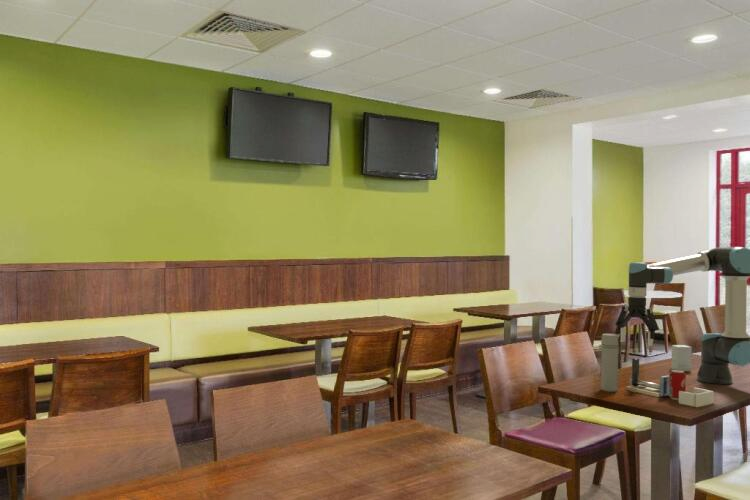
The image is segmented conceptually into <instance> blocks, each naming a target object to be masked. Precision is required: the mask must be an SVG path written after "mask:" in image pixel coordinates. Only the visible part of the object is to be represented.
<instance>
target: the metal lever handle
mask: <svg viewBox="0 0 750 500" xmlns="http://www.w3.org/2000/svg"><path fill="white" fill-rule="evenodd" d="M628 383H629V384H631V386H639V385H640V386H645V387H649V388H654V389H659V390H660V396H662V397H665V396H666V395H667V396H669V374H668V375H662V376H660V377H659V384H658V383H654V382H649V381H645V380H640V358H637V357H632V358H631V378H629V380H628Z"/></svg>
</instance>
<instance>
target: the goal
mask: <svg viewBox="0 0 750 500" xmlns="http://www.w3.org/2000/svg"><path fill="white" fill-rule="evenodd" d="M714 395H715V394H714V391H713V390H709V389H704V388H698V387H693V392H688V391H686V392H684V391H679V400H678V404H682V405H685V406H689V407H695V408H700V407H704V406H708V405H712V404H714V403H715V402H714Z"/></svg>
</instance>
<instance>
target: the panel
mask: <svg viewBox="0 0 750 500" xmlns="http://www.w3.org/2000/svg"><path fill="white" fill-rule="evenodd" d="M625 391H629V392H633V393H637V392H638V393H639V394H641V395H642V394H643V395H647V396H651V397H656V398H662V397H663V396H660V390H659V389H654V388H649V387H645V386H640V385H639V386H632V385H628V386H625ZM666 396H668V395H666Z"/></svg>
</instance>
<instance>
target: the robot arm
mask: <svg viewBox="0 0 750 500" xmlns="http://www.w3.org/2000/svg"><path fill="white" fill-rule="evenodd" d="M698 271H701V272H710V271H713V272H714V271H716V272H717V271H718V272H721V277H722V278H723V279H724V281H725V282H724V283H725V284H724V285H725V287H724V288H725V290H724V291H725V294H724V295H725V297H724V300H725V301H724V331H723V332H721V333H711V332H710V333H709V332H708V333H703V334H702V336H701V341H700V342H701V362H700V367H699V368H698V372H697V375H696V380H697V381H699V382H703V383H707V384H715V385H730V384H732V383H733V376H732V372H731V369H730V366H729V365H733V366H738V367H745V366H748V365H749V364H750V335H749V334H748V333H747V298H748V297H747V290H748V289H747V285H748V282H747V281H748V280H749V278H750V248H749V247H742V246H719V247H718V246H717V247H714V248H710V249H708V250H702V251H699V252H697V253H696V254H694V255H689V256H684V257H680V258H679V257H678V258H673V259H669V260H665V261H664V260H663V261H659V262H654V263H649V264H647V263H646V262H642V261H641V262H638V261H636V262H635V261H634V262H633V261H632V262H630V263H629V266H628V293H627V294H628V297H627V298H628V299H627V304H628V305H625V306H624V305H623V306H622V307H621V311H620V313H619V315H618V318H617V320H616V322H615V324H614V325H615V326H617V327H619V330H618V335H620V343H625V342H626V338H627V337H626V336H627V335H626V334H627V327H625V326H626V325H627V324H628V323H629V322H630V320H632V318H636V319H639V318H640V319H641V320H642V321H643V323H644V325H645V326H646V327H647V329H648V331H647V347H653V346H654V345H653V344H654V339H655V332H657V331H659V330H660V327H659V325H658V322H657V319H656V317H655V315H654V310H653V308H647V307H646V306H647V298H646V297H647V284H663V285H664V284H670V283H672V281H673V279H674V276H678V275H683V274H688V273H692V272H694V273H695V272H698Z"/></svg>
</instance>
